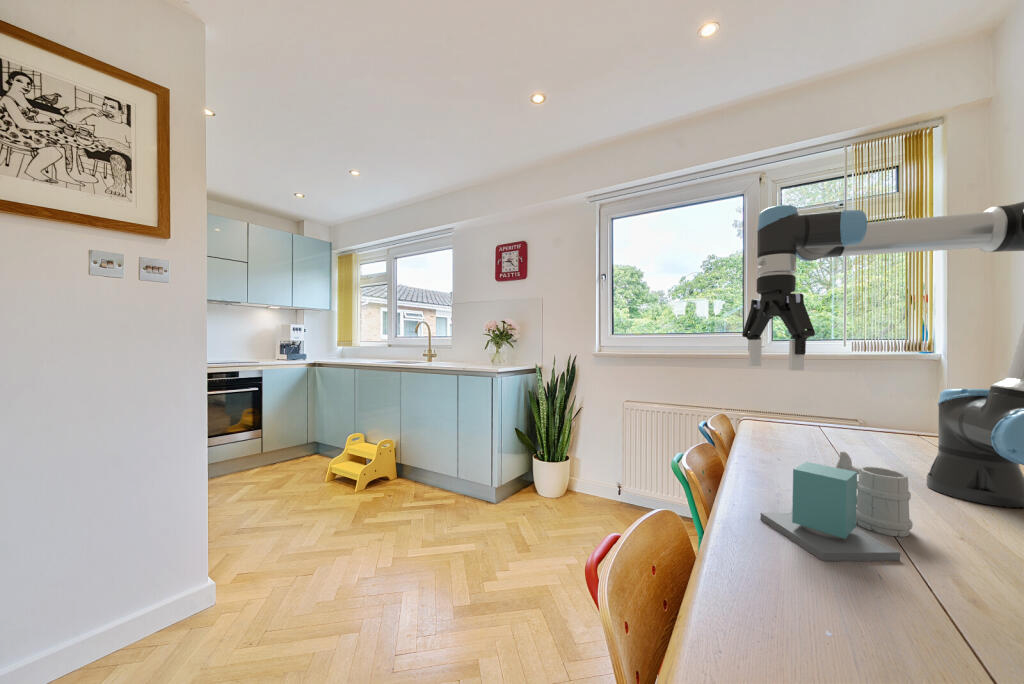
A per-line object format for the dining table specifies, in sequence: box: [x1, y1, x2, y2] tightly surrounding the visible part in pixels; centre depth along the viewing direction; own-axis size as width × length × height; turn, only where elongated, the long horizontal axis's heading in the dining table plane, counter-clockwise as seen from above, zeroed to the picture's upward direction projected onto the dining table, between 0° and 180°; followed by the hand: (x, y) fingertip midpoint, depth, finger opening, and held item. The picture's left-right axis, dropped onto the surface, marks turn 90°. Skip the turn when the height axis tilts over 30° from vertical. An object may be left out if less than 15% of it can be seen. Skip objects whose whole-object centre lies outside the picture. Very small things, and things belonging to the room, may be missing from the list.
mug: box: [835, 450, 913, 538], centre depth 73 cm, size 8×12×12 cm, turn 28°
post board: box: [760, 512, 901, 562], centre depth 67 cm, size 12×14×8 cm
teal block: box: [791, 461, 858, 539], centre depth 67 cm, size 7×7×9 cm
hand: (774, 368), depth 92 cm, fingers open, 13 cm apart
